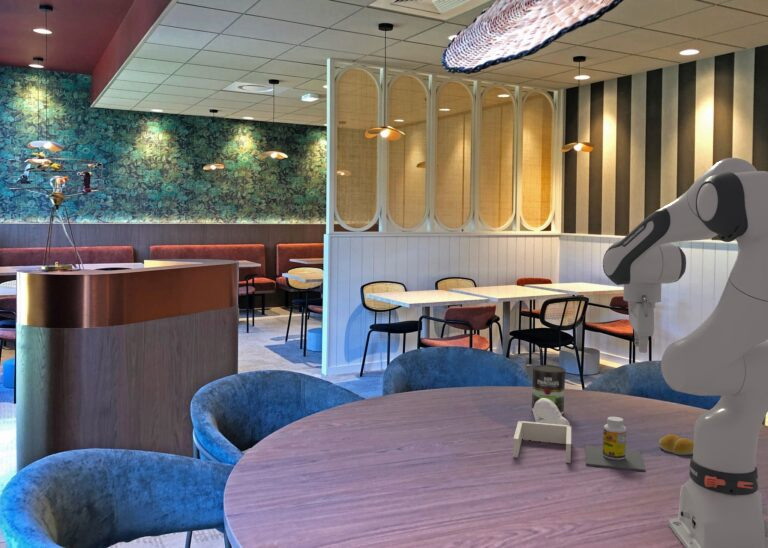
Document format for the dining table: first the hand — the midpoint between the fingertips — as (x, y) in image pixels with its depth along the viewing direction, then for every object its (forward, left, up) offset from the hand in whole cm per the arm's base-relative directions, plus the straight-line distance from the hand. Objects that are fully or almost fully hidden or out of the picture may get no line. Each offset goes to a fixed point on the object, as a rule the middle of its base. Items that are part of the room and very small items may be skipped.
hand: (640, 349), depth 168 cm
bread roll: (+15, -12, -30) cm, 35 cm away
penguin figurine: (+22, +21, -30) cm, 43 cm away
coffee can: (+41, +23, -30) cm, 56 cm away
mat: (+2, +5, -30) cm, 30 cm away
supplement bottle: (+2, +5, -29) cm, 30 cm away
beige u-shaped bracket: (+3, +23, -30) cm, 38 cm away
